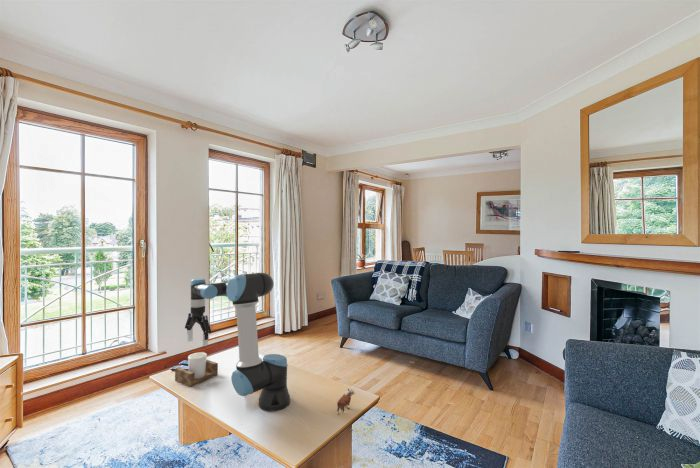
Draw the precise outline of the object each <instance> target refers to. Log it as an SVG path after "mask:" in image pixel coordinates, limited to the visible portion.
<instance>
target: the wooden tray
mask: <svg viewBox="0 0 700 468" xmlns="http://www.w3.org/2000/svg"><path fill="white" fill-rule="evenodd" d="M218 368H219V363H217V362H216V361H211V360H209V359H206V370H205V376H204V377H203V378H200V379H196V380H194V373H193V372H190V371H189V370H187V369H185V368H182V367H179V366H177V367H175V368H174V369H175V370H174V371H175V372H174V382H176V383H179V384H182V385H184V386H187V387H188V388H192V387H194V386H197V385H199V384H202V383H203V382H205V381H208V380H210V379H213V378H215V377H217V376H219V375H218V372H219V371H218V370H219V369H218Z"/></svg>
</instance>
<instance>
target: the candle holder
mask: <svg viewBox="0 0 700 468" xmlns="http://www.w3.org/2000/svg"><path fill="white" fill-rule="evenodd" d="M207 356H208V354H207V353H206V352H204V351H199V352H194V353H191V354H189V355H188V356H187V363H188V365H187V367H188V371H190V372H193V373H194V380H196V379H200V378H203V377H204V376H205V370H206V360H207V358H208V357H207Z"/></svg>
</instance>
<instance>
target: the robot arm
mask: <svg viewBox="0 0 700 468" xmlns="http://www.w3.org/2000/svg"><path fill="white" fill-rule="evenodd" d="M273 288H274V279H273V278H272V276H271V275H269V274H268V273H266V272H256V273H255V272H254V273H244V274H243V273H242V274H238V275H237V274H236V275H234V276H232V277H231V278H229V280H228V281H223V282H214V283H206V279H205V278H193V279H191V281H190V312H189V313H188V314H187V315H188V316H187V319H186V323H185V325H184V329H186V330H187V333H186V334H187V343H189V342H193V340H194V337H193V335H194V331H193V329H194V328H193V327H194V326H195V324H196V323H197V324H198V325H199V326H200V328H201V331H202V332H203V334H202V347H206V346H208V344H209V334H211V333H212V329H211V326H210V323H209V318H208V314H207V315H204V313H206V306H205V305H206V300H212V299H214V298H216V297H223V296H226V297H227V299H228V300H229V301H230V302H232V306H234V307H235V309H236V310H235V311H236V322H237V323H236V324H237V325H236V327H237V339H238V340H237V341H238V342H237V343H238V357H239V359H238V362H237V363H236V365H235V367H236V368H235V369H236V370H235V369H234V371H232V373H231V385H232V387H233V389H234V390H235V392H236V394H238V395H240V396H241V397H246V396H249V395H252V394H254V393H256V392H258V391H261V392H260V395H259V398H258V407H259V408H260V409H261V410H263V411H265V412H278V411H280V410H283V409H285V408H287V407H288V406H289V405H290V403H291V396H290V394H289V389H288V386H287V385H288V384H287V383H288V381H287V380H288V360H287V357H286V356H285V355H282V354H278V353H270V354H266V355H264V356H263V357H262V358H261V357H260V355H259V354H260V353H259V341H258V340H259V338H258V337H259V336H258V326H257V325H258V324H257V312H256V311H257V310H256V309H257V308H256V306H257V304H258V303H259V298H261V297H264V296H266V295H267V296H268V294H270V292H272V290H273Z"/></svg>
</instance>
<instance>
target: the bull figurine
mask: <svg viewBox="0 0 700 468" xmlns="http://www.w3.org/2000/svg"><path fill="white" fill-rule="evenodd" d="M353 395H356V392H355V391H354V390H353V389H352V388H350V389H349V388H347V390H346V392H345V393H344V394H342V396H341V397H340V398H339V399H338V401H337V402H336V403H337V409H336V413H337V412H339V411H340V410H341V414H343V412H344V411H345V408H346V407H348V406H349V407H350V403H351V399H352V396H353ZM345 406H346V407H345ZM339 413H340V412H339Z"/></svg>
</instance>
